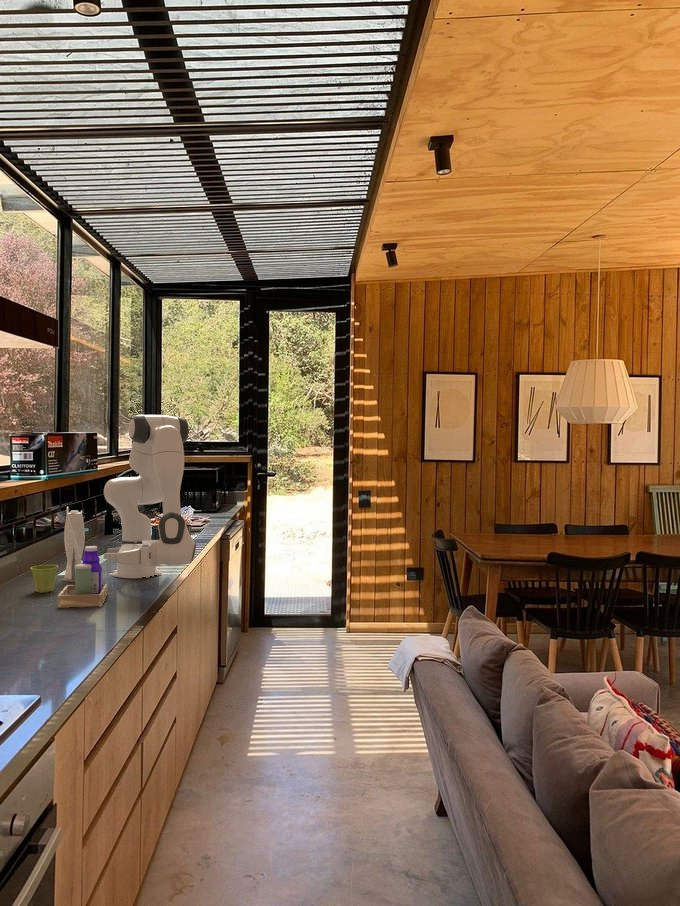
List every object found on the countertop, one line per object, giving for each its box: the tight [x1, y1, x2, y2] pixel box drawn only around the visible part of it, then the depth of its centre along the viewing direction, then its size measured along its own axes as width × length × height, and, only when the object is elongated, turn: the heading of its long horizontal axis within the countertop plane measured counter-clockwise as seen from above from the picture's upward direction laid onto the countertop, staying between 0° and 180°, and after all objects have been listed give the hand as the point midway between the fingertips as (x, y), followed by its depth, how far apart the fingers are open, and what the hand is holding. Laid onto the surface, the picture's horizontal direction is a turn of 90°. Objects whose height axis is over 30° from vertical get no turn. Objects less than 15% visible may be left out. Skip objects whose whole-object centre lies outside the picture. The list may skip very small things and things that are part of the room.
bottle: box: [81, 545, 103, 594], centre depth 264 cm, size 7×6×17 cm
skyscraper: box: [60, 506, 86, 583], centre depth 299 cm, size 8×8×28 cm
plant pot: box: [29, 564, 59, 594], centre depth 278 cm, size 9×9×9 cm
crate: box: [57, 583, 109, 609], centre depth 261 cm, size 18×14×4 cm
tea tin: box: [74, 564, 91, 595], centre depth 258 cm, size 5×5×12 cm
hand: (105, 553), depth 266 cm, fingers open, 8 cm apart
